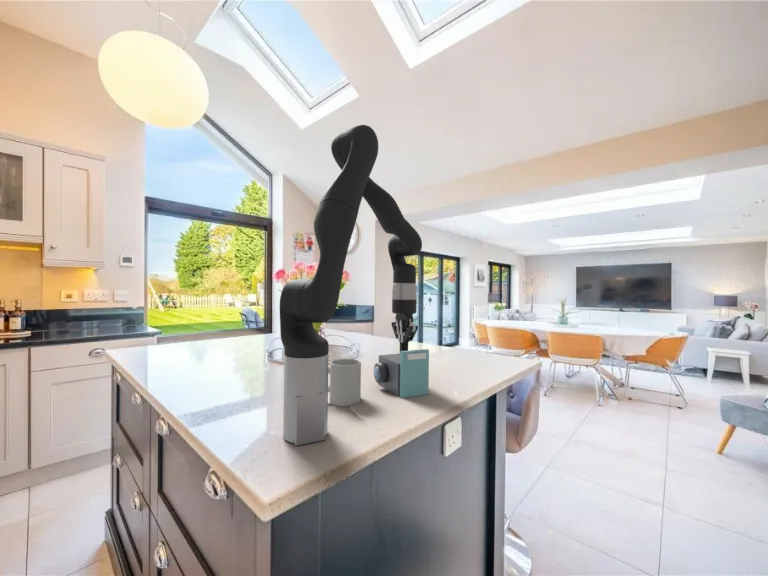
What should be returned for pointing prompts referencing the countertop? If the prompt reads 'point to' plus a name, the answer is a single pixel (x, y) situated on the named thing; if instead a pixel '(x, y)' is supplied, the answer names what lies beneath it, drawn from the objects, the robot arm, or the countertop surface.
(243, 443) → the countertop surface
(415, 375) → the side door
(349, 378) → the mug
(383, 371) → the camera box
